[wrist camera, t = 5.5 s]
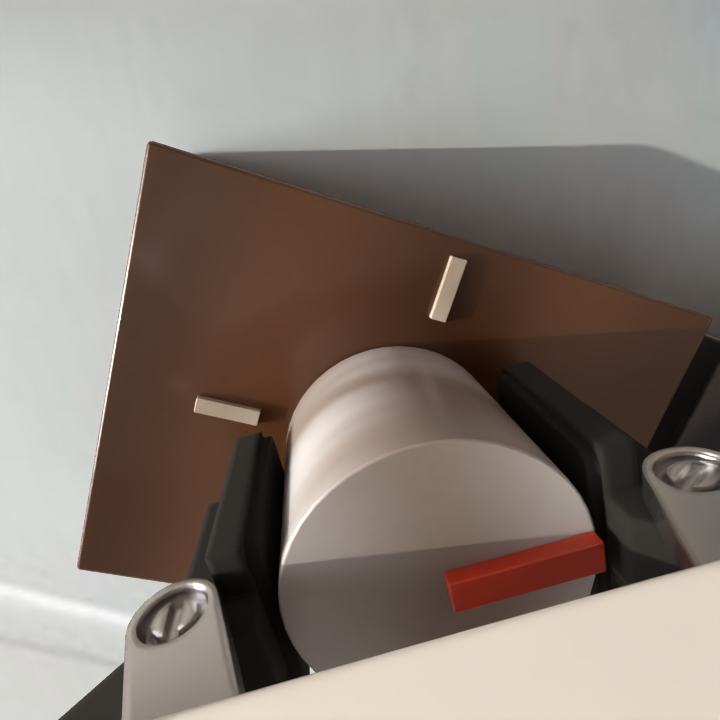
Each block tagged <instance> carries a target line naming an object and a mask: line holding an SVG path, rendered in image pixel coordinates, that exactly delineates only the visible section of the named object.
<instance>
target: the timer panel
mask: <svg viewBox="0 0 720 720" xmlns="http://www.w3.org/2000/svg"><path fill="white" fill-rule="evenodd" d="M711 322H712V318H711V317H710V316H708V315H705V314H701V313H698V312H695V311H692V310H689V309H685V308H682V307H679V306H676V305H673V304H670V303H666V302H663V301H660V300H657V299H654V298H650V297H647V296H644V295H641V294H638V293H635V292H631V291H628V290H625V289H622V288H619V287H615V286H612V285H609V284H606V283H603V282H600V281H596V280H593V279H590V278H587V277H584V276H580V275H577V274H574V273H571V272H568V271H565V270H561V269H558V268H555V267H552V266H549V265H545V264H542V263H539V262H536V261H533V260H530V259H526V258H523V257H520V256H517V255H514V254H510V253H507V252H504V251H501V250H498V249H494V248H491V247H488V246H485V245H482V244H479V243H475V242H472V241H469V240H466V239H463V238H459V237H456V236H453V235H450V234H447V233H444V232H440V231H437V230H434V229H431V228H428V227H424V226H421V225H418V224H415V223H412V222H409V221H405V220H402V219H399V218H396V217H393V216H389V215H386V214H383V213H380V212H377V211H374V210H370V209H367V208H364V207H361V206H358V205H354V204H351V203H348V202H345V201H342V200H339V199H335V198H332V197H329V196H326V195H323V194H319V193H316V192H313V191H310V190H307V189H304V188H300V187H297V186H294V185H291V184H288V183H284V182H281V181H278V180H275V179H272V178H269V177H265V176H262V175H259V174H256V173H253V172H249V171H246V170H243V169H240V168H237V167H234V166H230V165H227V164H224V163H221V162H218V161H214V160H211V159H208V158H205V157H202V156H199V155H195V154H192V153H189V152H186V151H183V150H179V149H176V148H173V147H170V146H167V145H164V144H160V143H157V142H154V141H150V142H148V144H147V148H146V154H145V160H144V166H143V172H142V178H141V184H140V190H139V196H138V202H137V208H136V214H135V220H134V226H133V232H132V238H131V244H130V250H129V256H128V262H127V268H126V274H125V280H124V286H123V292H122V298H121V304H120V310H119V316H118V322H117V328H116V334H115V340H114V347H113V353H112V359H111V365H110V371H109V377H108V383H107V389H106V395H105V401H104V407H103V413H102V419H101V425H100V431H99V437H98V443H97V449H96V455H95V461H94V467H93V473H92V479H91V485H90V491H89V497H88V503H87V509H86V515H85V521H84V527H83V533H82V539H81V545H80V551H79V557H78V563H77V567H78V569H80V570H87V571H94V572H100V573H107V574H113V575H120V576H126V577H133V578H140V579H146V580H153V581H159V582H166V583H172V584H174V583H176V582H179V581H182V580H186V578H187V575H188V572H189V568H190V565H191V562H192V558H193V555H194V551H195V548H196V545H197V541H198V538H199V535H200V531H201V528H202V524H203V521H204V518H205V514H206V511H207V508H208V506H209V504H211V503H215V502H218V501H220V497H221V494H222V490H223V486H224V482H225V478H226V475H227V471H228V467H229V463H230V459H231V456H232V452H233V448H234V444H235V441H236V438H240V437H243V436H247V435H251V434H255V433H258V432H261V433H262V434H263V436H264V437H268V436H272V438H273V440H274V442H275V445H276V448H277V451H278V454H279V457H280V460H281V463H282V466H283V469H284V472H285V459H286V442H287V434H288V429H289V425H290V422H291V419H292V416H293V413H294V411H295V409H296V407H297V405H298V403H299V402H300V400H301V398H302V397H303V396H304V394H305V393H306V391H307V390H308V389H309V387H310V386H311V385H312V384H313V383H314V382H315V381H316V380H317V379H318V378H319V377H320V376H321V375H323V374H324V373H325V372H326V371H327V370H329V369H330V368H332V367H333V366H335V365H336V364H338V363H339V362H341V361H343V360H345V359H347V358H349V357H351V356H353V355H356V354H359V353H362V352H365V351H368V350H372V349H377V348H382V347H393V346H404V347H415V348H421V349H426V350H429V351H432V352H435V353H438V354H441V355H443V356H445V357H447V358H449V359H451V360H453V361H454V362H456V363H457V364H459V365H460V366H462V367H463V368H464V369H465V370H466V371H467V372H468V373H470V374H471V375H472V376H473V377H474V378H475V379H476V380H477V382H478V383H479V384H480V385H481V386H482V387H483V388H484V389H485V390H486V391H487V392H488V393H489V394H490V395H491V397H492V398H493V399H494V400H495V401H496V402H497V403H498V404H499V401H498V394H497V388H496V376H497V375H501V374H502V369H503V368H504V367H507V366H511V365H514V364H518V363H522V362H526V361H528V362H530V363H531V364H533V365H534V366H535V367H537V368H538V369H539V370H541V371H542V372H543V373H545V374H546V375H547V376H549V377H550V378H551V379H553V380H554V381H555V382H557V383H558V384H559V385H561V386H562V387H564V388H565V389H566V390H568V391H569V392H570V393H572V394H573V395H574V396H576V397H577V398H578V399H580V400H581V401H582V402H584V403H585V404H587V405H589V406H590V407H592V408H593V409H594V410H596V411H597V412H598V413H600V414H601V415H602V416H604V417H605V418H606V419H608V420H609V421H610V422H612V423H613V424H614V425H616V426H617V427H619V428H620V429H621V430H623V431H624V432H625V433H627V434H628V435H629V436H631V437H632V438H633V439H635V440H636V441H637V442H639V443H640V444H641V445H643V446H644V447H645V448H648V446H649V444H650V442H651V440H652V438H653V436H654V434H655V432H656V430H657V428H658V426H659V424H660V422H661V420H662V418H663V416H664V414H665V412H666V410H667V408H668V406H669V404H670V402H671V401H672V399H673V397H674V395H675V393H676V391H677V389H678V387H679V385H680V383H681V381H682V379H683V377H684V375H685V373H686V371H687V369H688V367H689V365H690V363H691V361H692V359H693V357H694V355H695V353H696V351H697V349H698V347H699V345H700V343H701V341H702V340H703V338H704V336H705V334H706V332H707V330H708V328H709V326H710V324H711Z"/></svg>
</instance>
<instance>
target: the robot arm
mask: <svg viewBox="0 0 720 720" xmlns="http://www.w3.org/2000/svg"><path fill="white" fill-rule="evenodd" d="M496 388H497V394H498V401H499V405H500V406H501V407H502V408H503V409H504V411H505V412H506V413H507V414H508V415H509V416H510V417H511V418H512V419H513V420H514V421H515V422H516V423H517V424H518V426H519V427H520V428H521V429H522V430H523V431H524V432H525V433H526V434H527V435H528V436H529V437H530V438H531V439H532V441H533V442H534V443H535V444H536V445H537V446H538V447H539V448H540V449H541V450H542V451H543V452H544V453H545V455H546V456H547V457H548V458H549V459H550V460H551V461H552V462H553V463H554V464H555V465H556V466H557V467H558V468H559V470H560V471H561V472H562V473H563V474H564V475H565V476H566V477H567V478H568V479H569V480H570V482H571V483H572V484H573V485H574V487H575V488H576V489H577V490H578V492H579V493H580V495H581V496H582V498H583V500H584V502H585V504H586V505H587V507H588V509H589V512H590V515H591V518H592V520H593V523H594V527H595V532H596V534H597V535H598V536H599V537H600V538H601V539H602V541H603V542H604V545H605V556H606V567H607V570H606V571H605V572H602V573H598V574H595V579H594V582H593V586H592V589H591V593H590V594H591V596H587V597H584V598H580V599H576V600H573V601H569V602H566V603H562V604H559V605H555V606H552V607H548V608H544V609H541V610H537V611H534V612H530V613H527V614H523V615H520V616H516V617H512V618H509V619H505V620H502V621H498V622H495V623H491V624H487V625H484V626H480V627H477V628H473V629H470V630H466V631H462V632H459V633H455V634H452V635H448V636H445V637H441V638H437V639H434V640H430V641H427V642H423V643H420V644H416V645H412V646H409V647H405V648H402V649H398V650H395V651H391V652H387V653H384V654H380V655H377V656H373V657H370V658H366V659H362V660H359V661H355V662H352V663H348V664H345V665H341V666H337V667H334V668H330V669H327V670H323V671H320V672H316V673H313V674H310V667H309V665H308V664H307V663H306V662H305V661H304V660H303V659H302V658H301V656H300V655H299V653H298V652H297V650H296V649H295V648H294V646H293V645H292V643H291V641H290V639H289V636H288V634H287V632H286V630H285V628H284V625H283V621H282V618H281V614H280V610H279V601H278V579H279V562H280V545H281V528H282V510H283V493H284V476H285V472H284V469H283V466H282V463H281V460H280V457H279V454H278V451H277V448H276V445H275V442H274V440H273V438H272V436H268V437H264V436H263V434H262V433H261V432H258V433H255V434H251V435H247V436H243V437H240V438H236V441H235V444H234V448H233V452H232V456H231V459H230V463H229V467H228V471H227V475H226V478H225V482H224V486H223V490H222V494H221V497H220V501H218V502H215V503H211V504H209V506H208V508H207V511H206V514H205V518H204V521H203V524H202V528H201V531H200V535H199V538H198V541H197V545H196V548H195V551H194V555H193V558H192V562H191V565H190V568H189V572H188V575H187V578H186V580H182V581H179V582H176V583H174V584H171V585H169V586H167V587H165V588H164V589H162V590H160V591H158V592H157V593H156V594H154V595H153V596H152V597H151V598H149V599H148V600H147V601H146V602H144V604H143V605H142V606H141V607H140V608H139V609H138V610H137V611H136V613H135V614H134V616H133V617H132V619H131V621H130V623H129V624H128V627H127V632H126V636H125V656H124V663H122V664H121V665H120V666H119V667H118V668H117V669H116V670H114V671H113V672H112V673H111V674H110V675H109V676H108V677H106V678H105V679H104V680H103V681H102V682H101V683H100V684H98V685H97V686H96V687H95V688H94V689H93V690H92V691H91V692H89V693H88V694H87V695H86V696H85V697H84V698H83V699H81V700H80V701H79V702H78V703H77V704H76V705H75V706H73V707H72V708H71V709H70V710H69V711H68V712H67V713H65V714H64V715H63V716H62V717H61V718H60V719H59V720H720V452H717V451H713V450H710V449H706V448H698V447H671V448H666V449H661V450H659V451H656V452H654V453H652V452H651V451H650V450H648V449H647V448H645V447H644V446H643V445H641V444H640V443H639V442H637V441H636V440H635V439H633V438H632V437H631V436H629V435H628V434H627V433H625V432H624V431H623V430H621V429H620V428H619V427H617V426H616V425H614V424H613V423H612V422H610V421H609V420H608V419H606V418H605V417H604V416H602V415H601V414H600V413H598V412H597V411H596V410H594V409H593V408H592V407H590V406H589V405H587V404H585V403H584V402H582V401H581V400H580V399H578V398H577V397H576V396H574V395H573V394H572V393H570V392H569V391H568V390H566V389H565V388H564V387H562V386H561V385H559V384H558V383H557V382H555V381H554V380H553V379H551V378H550V377H549V376H547V375H546V374H545V373H543V372H542V371H541V370H539V369H538V368H537V367H535V366H534V365H533V364H531V363H530V362H528V361H526V362H522V363H518V364H514V365H511V366H507V367H504V368H503V369H502V374H501V375H497V376H496Z"/></svg>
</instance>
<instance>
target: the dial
mask: <svg viewBox="0 0 720 720" xmlns="http://www.w3.org/2000/svg"><path fill="white" fill-rule="evenodd" d="M606 570H607V567H606V556H605V545H604V542H603V541H602V539H601V538H600V537H599V536H598V535H597V534H596V532H595V527H594V523H593V520H592V518H591V515H590V512H589V509H588V507H587V505H586V504H585V502H584V500H583V498H582V496H581V495H580V493H579V492H578V490H577V489H576V488H575V487H574V485H573V484H572V483H571V482H570V480H569V479H568V478H567V477H566V476H565V475H564V474H563V473H562V472H561V471H560V470H559V468H558V467H557V466H556V465H555V464H554V463H553V462H552V461H551V460H550V459H549V458H548V457H547V456H546V455H545V453H544V452H543V451H542V450H541V449H540V448H539V447H538V446H537V445H536V444H535V443H534V442H533V441H532V439H531V438H530V437H529V436H528V435H527V434H526V433H525V432H524V431H523V430H522V429H521V428H520V427H519V426H518V424H517V423H516V422H515V421H514V420H513V419H512V418H511V417H510V416H509V415H508V414H507V413H506V412H505V411H504V409H503V408H502V407H501V406H500V405H499V404H498V403H497V402H496V401H495V400H494V399H493V398H492V397H491V395H490V394H489V393H488V392H487V391H486V390H485V389H484V388H483V387H482V386H481V385H480V384H479V383H478V382H477V380H476V379H475V378H474V377H473V376H472V375H471V374H470V373H468V372H467V371H466V370H465V369H464V368H463V367H462V366H460V365H459V364H457V363H456V362H454V361H453V360H451V359H449V358H447V357H445V356H443V355H441V354H438V353H435V352H432V351H429V350H426V349H421V348H415V347H404V346H393V347H382V348H377V349H372V350H368V351H365V352H362V353H359V354H356V355H353V356H351V357H349V358H347V359H345V360H343V361H341V362H339V363H338V364H336V365H335V366H333V367H332V368H330V369H329V370H327V371H326V372H325V373H324V374H323V375H321V376H320V377H319V378H318V379H317V380H316V381H315V382H314V383H313V384H312V385H311V386H310V387H309V389H308V390H307V391H306V393H305V394H304V396H303V397H302V398H301V400H300V402H299V403H298V405H297V407H296V409H295V411H294V413H293V416H292V419H291V422H290V425H289V429H288V434H287V442H286V459H285V476H284V493H283V510H282V528H281V545H280V562H279V579H278V601H279V610H280V614H281V618H282V621H283V625H284V628H285V630H286V632H287V634H288V636H289V639H290V641H291V643H292V645H293V646H294V648H295V649H296V650H297V652H298V653H299V655H300V656H301V658H302V659H303V660H304V661H305V662H306V663H307V664H308V665H309V666H310V667H311V668H312V669H313V670H314V671H315V672H320V671H323V670H327V669H330V668H334V667H337V666H341V665H345V664H348V663H352V662H355V661H359V660H362V659H366V658H370V657H373V656H377V655H380V654H384V653H387V652H391V651H395V650H398V649H402V648H405V647H409V646H412V645H416V644H420V643H423V642H427V641H430V640H434V639H437V638H441V637H445V636H448V635H452V634H455V633H459V632H462V631H466V630H470V629H473V628H477V627H480V626H484V625H487V624H491V623H495V622H498V621H502V620H505V619H509V618H512V617H516V616H520V615H523V614H527V613H530V612H534V611H537V610H541V609H544V608H548V607H552V606H555V605H559V604H562V603H566V602H569V601H573V600H576V599H580V598H584V597H587V596H589V595H590V593H591V589H592V586H593V582H594V579H595V574H598V573H602V572H605V571H606Z"/></svg>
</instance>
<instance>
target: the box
mask: <svg viewBox="0 0 720 720" xmlns="http://www.w3.org/2000/svg"><path fill="white" fill-rule="evenodd" d="M671 447H698V448H706V449H710V450H713V451H717V452H720V338H718V337H715V336H712V335H708V334H705V336H704V338H703V340H702V341H701V343H700V345H699V347H698V349H697V351H696V353H695V355H694V357H693V359H692V361H691V363H690V365H689V367H688V369H687V371H686V373H685V375H684V377H683V379H682V381H681V383H680V385H679V387H678V389H677V391H676V393H675V395H674V397H673V399H672V401H671V402H670V404H669V406H668V408H667V410H666V412H665V414H664V416H663V418H662V420H661V422H660V424H659V426H658V428H657V430H656V432H655V434H654V436H653V438H652V440H651V442H650V444H649V446H648V448H647V449H648V450H650V451H651V452H652V453H654V452H656V451H659V450H661V449H666V448H671ZM589 596H591V594H590V595H589Z"/></svg>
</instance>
